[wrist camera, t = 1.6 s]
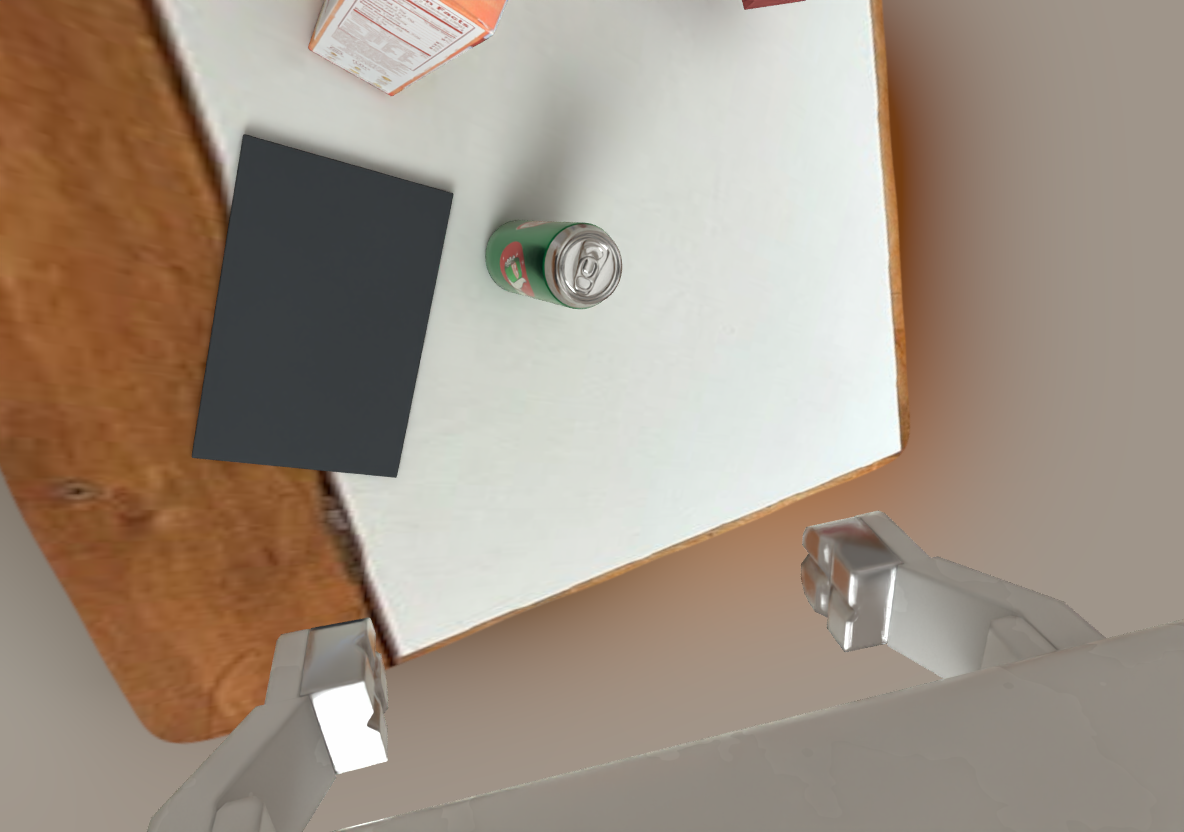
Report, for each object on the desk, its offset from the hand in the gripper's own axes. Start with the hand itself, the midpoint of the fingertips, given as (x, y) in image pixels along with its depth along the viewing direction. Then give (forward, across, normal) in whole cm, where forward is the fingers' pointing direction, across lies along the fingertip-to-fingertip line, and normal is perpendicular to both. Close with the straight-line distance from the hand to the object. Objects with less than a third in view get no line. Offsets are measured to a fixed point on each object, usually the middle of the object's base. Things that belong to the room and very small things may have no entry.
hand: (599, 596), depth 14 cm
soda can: (+44, -4, +6) cm, 44 cm away
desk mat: (+40, +10, +7) cm, 42 cm away
